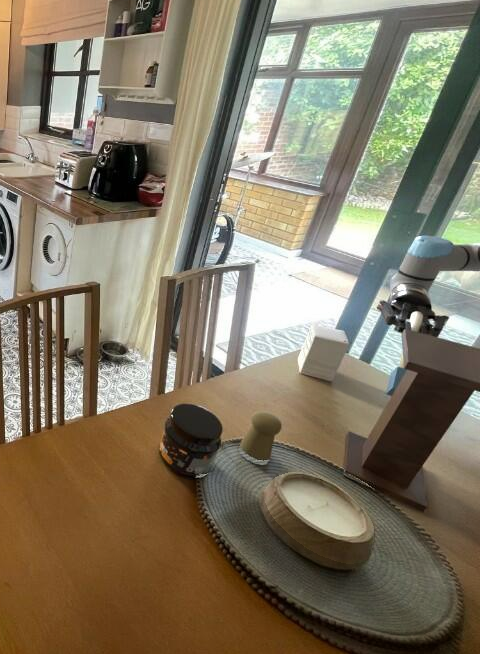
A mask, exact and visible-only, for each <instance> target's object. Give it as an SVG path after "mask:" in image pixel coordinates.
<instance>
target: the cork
mask: <svg viewBox="0 0 480 654" xmlns="http://www.w3.org/2000/svg"><path fill="white" fill-rule="evenodd" d="M250 421H251V426H250V427H249V428H248V430H247V432H246V433H245V434H244V436H243V438H242V439H241V440H240V442H241V443H240V442H239V444H240V446H241V448H242V450H243V451H244V452H245V453H246V454H248V455H249V456H251V457H253V458H255V459H257V460H263V461H264V460H268V459H270V460H271V457H270V456H272V451H273V447H274V442H275V438H276V437H275V436H276V435H278V434H279V433H280V432H281V430H282V421H281V420H280V419H279V417H278V416H276V415H274V414H273V413H271V412H269V411H266V410H257V411H256V412H254V413H253V414H252V416H251V419H250Z"/></svg>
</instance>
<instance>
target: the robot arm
mask: <svg viewBox="0 0 480 654" xmlns="http://www.w3.org/2000/svg"><path fill="white" fill-rule="evenodd" d="M440 272H480V242H478V243H477V242H475V243H465V244H454V243H453V241H451V240H449V239H447V238H443V237H439V236H434V235H433V236H430V235H420V236H418V237H415V238H414V240H413V242H412V244H411V245H410V246H409V248H407V252H406V253H405V256H404V258H403V261H402V263H401V264H400V266H399V268H398V270H397V271H396V274H394V275H393V276H392V278H391V279H390V281H389V283H388V289H389V298H390V302H388V301H386V300H385V299H380V300H379V302H378V304H377V306H376V309H377V310H378V311H379V312H380V313H381V316H382V318H383V320H384V323H385V325H387V326H394V328H393V330H394V331H396V332H397V333H400V334H402V333H403V331H404V329H408V330H412V329H411V322H410V318H411V314H412V313H413V312H421V313H422V314H423V319H422V323H421V327H420V332H419V333H423V334H427V335H430V336H434V337H438V338H439V336H440V335H441V333H442V331H443V329H444V327H445V326H446V324H447V323H448V321H449V319H450V317H449V316H448V315H445V314H444V315H443V314H442V315H439V314H438V315H437V314H436V312H435V310H432V309H433V305H432V302H431V298H430V297H431V296H430V293H429V291H430V289H431V287H432V286H433V284H434V282H435V280H436V279H437V277H438V275H439V273H440ZM430 320H432V321H433V323H431V322H430Z"/></svg>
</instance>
